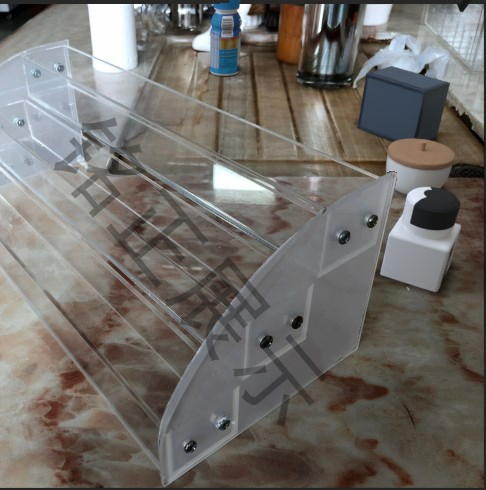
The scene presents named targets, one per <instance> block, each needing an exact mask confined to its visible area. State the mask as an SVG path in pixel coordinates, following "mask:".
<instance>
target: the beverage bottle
mask: <svg viewBox="0 0 486 490" xmlns="http://www.w3.org/2000/svg"><path fill="white" fill-rule="evenodd" d="M229 1H230V2H229V3H220V4H214V3H213V8H214V10H215V11H214V13H213V15H212V17H211V19H210V26H211V28H210V31H209V37H210V38H209V39H210V40H209V41H210V42H209V43H210V44H209V45H210V46H209V47H210V49H209V72H210V74H212V75H213V76H218V77H233V76H235V75H237V74H239V72H240V67H241V66H240V60H241V43H242V35H243V31H242V30H243V29H241V26H242V25H243V21H242V17H241V15H240V13H239V11H238V10H240V7H241V0H229Z"/></svg>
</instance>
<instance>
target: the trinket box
mask: <svg viewBox="0 0 486 490" xmlns="http://www.w3.org/2000/svg"><path fill="white" fill-rule="evenodd" d="M455 159H456V153H455V152H454V150H453V149H452V148H451V147H449V146H447V145H445V144H443V143H440V142H439V141H438V142H437V141H436V140H434V141H430V140H425V139H401V140H397V141H394V142H391V143H390V144H389V145H388V147H387V156H386V162H385V174H386V173H387V172H389V171H395V172H397V181H396V186H395V189H394V191H397V192H398V193H400V194H403V195H406V196H407V194H408V193H409V192H410V191H412V190H413V189H416V188H420V187H435V188H440V189H442V187H443V186H444V184H446V182H447V181H448V178H449V176H450V174H451V171H452V168H453V164H454V163H455Z"/></svg>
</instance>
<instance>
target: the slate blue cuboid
mask: <svg viewBox="0 0 486 490" xmlns="http://www.w3.org/2000/svg"><path fill="white" fill-rule="evenodd" d="M450 86H451V82H449V81H445V80H442V79H440V78H439V79H438V78H436V77H435V78H434V77H432V76H428V75H425V74H421V73H418V72H414V71H411V70H407V69H404V68H400V67H397V66H393V65H391V66H387V67H383V68H380V69H376V70H373V71H369V72H366V73H365V80H364V85H363V92H362V97H361V103H360V104H361V105H360V108H359V115H358V120H357V127H356V128H357V129H359V130H362V131H364V132H367V133H370V134H372V135H375V136H377V137H380V138H382V139H384V140H387V141H390V142H391V143H393V142H394V141H397V140H401V139H425V140H430V141H436V140H437V137H438V134H439V130H440V126H441V121H442V118H443V113H444V109H445V106H446V102H447V98H448V93H449V89H450Z"/></svg>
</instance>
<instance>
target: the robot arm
mask: <svg viewBox="0 0 486 490" xmlns="http://www.w3.org/2000/svg"><path fill="white" fill-rule="evenodd" d="M471 1H472V0H458V1H457V2H456V6H457V9H458V10H459V12H460V13H464V12H465V10H466V9H467V7H468V6H469V5H470V4H471Z"/></svg>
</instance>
